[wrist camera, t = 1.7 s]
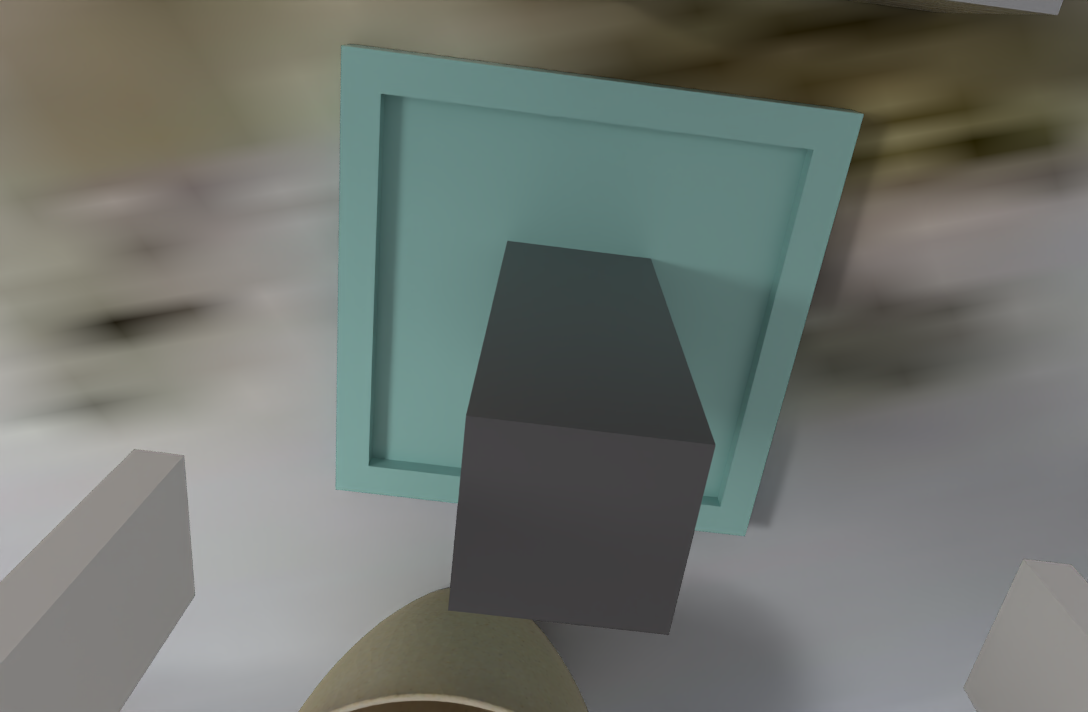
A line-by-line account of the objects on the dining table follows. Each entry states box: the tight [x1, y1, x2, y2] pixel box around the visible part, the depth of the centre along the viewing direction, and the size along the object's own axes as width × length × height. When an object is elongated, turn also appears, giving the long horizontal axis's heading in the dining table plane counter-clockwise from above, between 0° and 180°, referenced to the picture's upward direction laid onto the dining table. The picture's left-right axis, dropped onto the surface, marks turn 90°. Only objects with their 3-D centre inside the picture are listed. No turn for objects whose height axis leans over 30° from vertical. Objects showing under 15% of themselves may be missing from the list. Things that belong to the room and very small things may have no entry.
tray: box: [336, 44, 864, 536], centre depth 22 cm, size 13×13×1 cm
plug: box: [448, 241, 716, 635], centre depth 18 cm, size 4×4×10 cm
